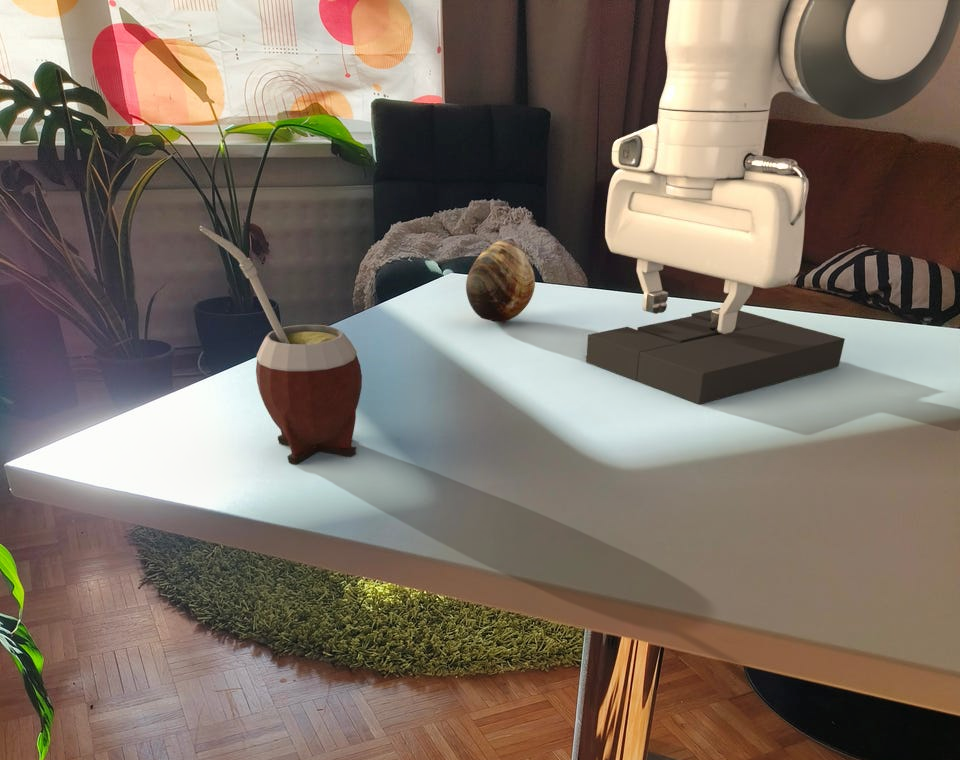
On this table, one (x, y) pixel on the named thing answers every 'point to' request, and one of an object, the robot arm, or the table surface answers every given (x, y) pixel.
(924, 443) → the table surface
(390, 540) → the table surface
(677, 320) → the small block
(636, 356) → the big pad
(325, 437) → the mate gourd
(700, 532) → the table surface
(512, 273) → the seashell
